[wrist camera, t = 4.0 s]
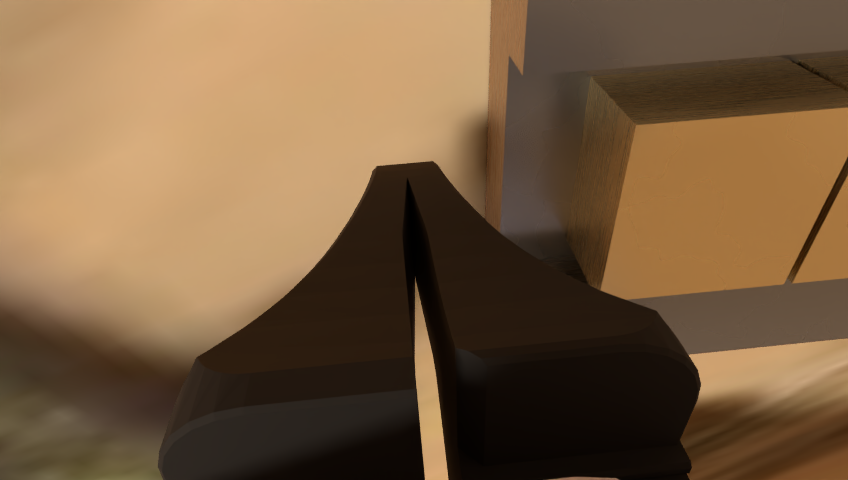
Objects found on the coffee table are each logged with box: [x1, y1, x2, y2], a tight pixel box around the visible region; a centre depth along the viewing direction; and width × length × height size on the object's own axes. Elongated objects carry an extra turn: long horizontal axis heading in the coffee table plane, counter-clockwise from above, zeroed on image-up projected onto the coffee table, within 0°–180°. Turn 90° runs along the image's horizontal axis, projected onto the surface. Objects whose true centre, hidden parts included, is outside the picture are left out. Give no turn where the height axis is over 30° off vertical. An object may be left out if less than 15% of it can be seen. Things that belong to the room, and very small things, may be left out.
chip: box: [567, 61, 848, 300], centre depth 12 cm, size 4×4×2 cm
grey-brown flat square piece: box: [485, 0, 848, 354], centre depth 13 cm, size 12×12×3 cm
